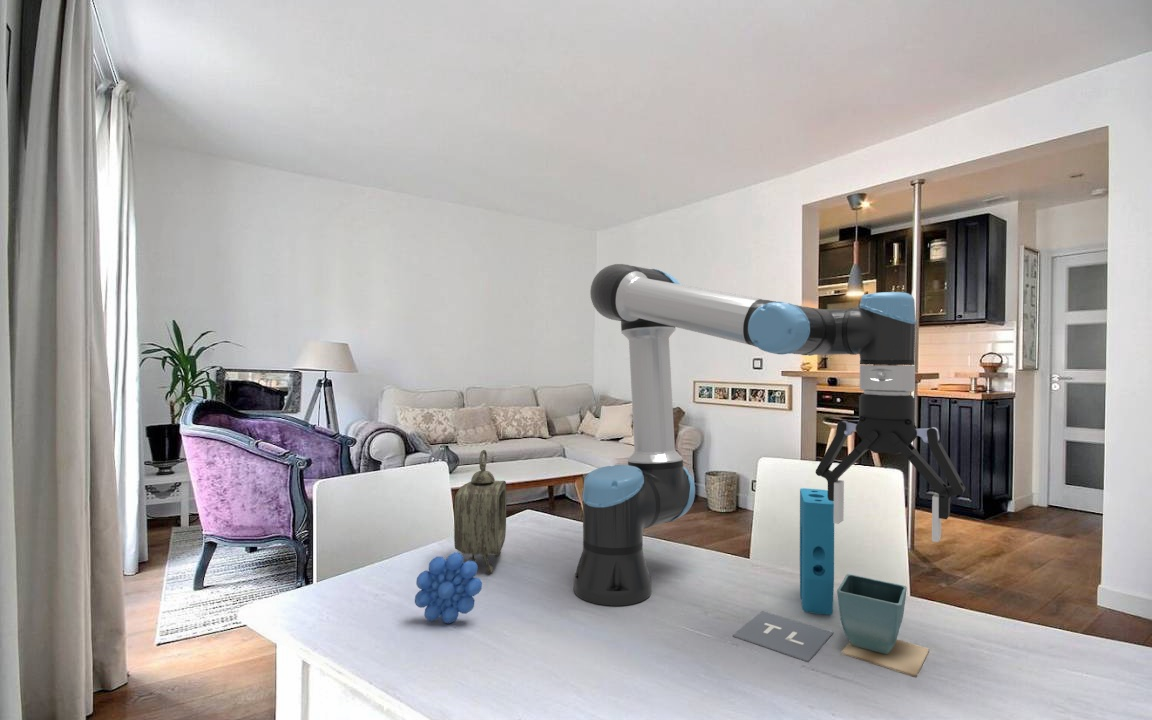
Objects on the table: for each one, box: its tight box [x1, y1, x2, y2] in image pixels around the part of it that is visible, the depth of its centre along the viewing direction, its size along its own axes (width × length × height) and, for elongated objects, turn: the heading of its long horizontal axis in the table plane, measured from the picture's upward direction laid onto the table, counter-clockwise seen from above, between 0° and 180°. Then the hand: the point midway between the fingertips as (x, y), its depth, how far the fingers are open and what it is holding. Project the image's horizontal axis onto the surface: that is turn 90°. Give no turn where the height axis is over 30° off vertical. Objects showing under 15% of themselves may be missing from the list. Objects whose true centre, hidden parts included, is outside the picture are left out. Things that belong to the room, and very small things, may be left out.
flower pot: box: [836, 573, 908, 654], centre depth 90 cm, size 9×9×9 cm
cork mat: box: [841, 639, 930, 678], centre depth 88 cm, size 10×10×1 cm
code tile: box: [732, 610, 834, 663], centre depth 93 cm, size 12×12×1 cm
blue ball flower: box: [414, 552, 483, 624], centre depth 98 cm, size 12×7×12 cm, turn 85°
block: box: [799, 487, 835, 616], centre depth 105 cm, size 12×5×20 cm, turn 162°
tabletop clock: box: [453, 449, 507, 574], centre depth 125 cm, size 14×9×25 cm, turn 179°
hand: (885, 530), depth 88 cm, fingers open, 13 cm apart
